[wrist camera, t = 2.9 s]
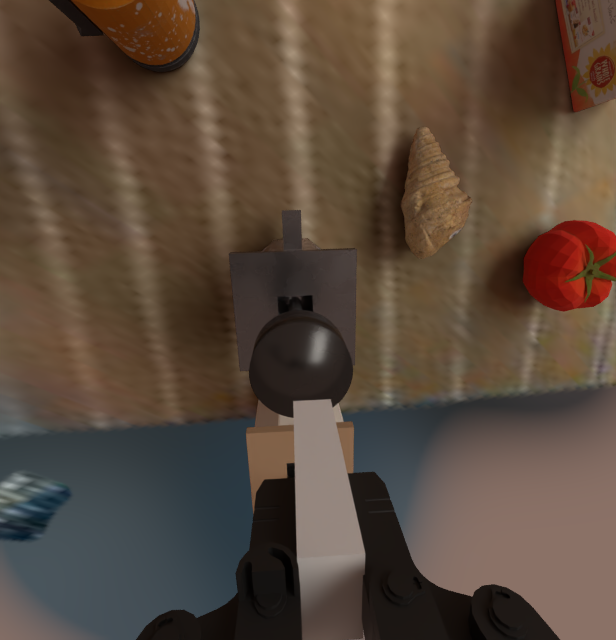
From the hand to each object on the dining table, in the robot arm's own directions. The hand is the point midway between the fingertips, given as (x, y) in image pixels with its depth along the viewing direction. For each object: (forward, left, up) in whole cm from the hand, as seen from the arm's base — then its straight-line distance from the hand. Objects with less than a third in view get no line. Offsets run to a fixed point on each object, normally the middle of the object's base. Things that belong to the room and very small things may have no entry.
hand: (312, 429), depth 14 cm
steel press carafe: (0, +2, -33) cm, 33 cm away
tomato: (+34, +1, -33) cm, 47 cm away
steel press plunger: (0, 0, -21) cm, 21 cm away
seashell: (+16, +10, -33) cm, 38 cm away
